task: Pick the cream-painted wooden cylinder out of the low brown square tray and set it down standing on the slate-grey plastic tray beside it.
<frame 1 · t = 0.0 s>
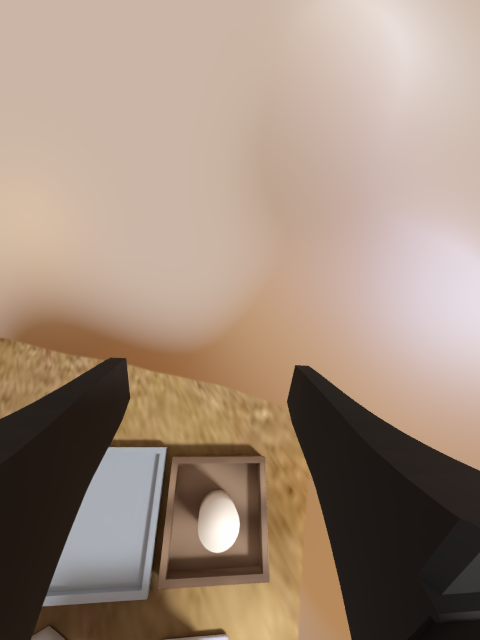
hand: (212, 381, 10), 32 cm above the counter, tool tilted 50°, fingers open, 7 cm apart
brown square tray: (216, 510, 34), on the counter
cream cylinder: (216, 510, 34), resting on brown square tray
slate tray: (99, 513, 32), on the counter
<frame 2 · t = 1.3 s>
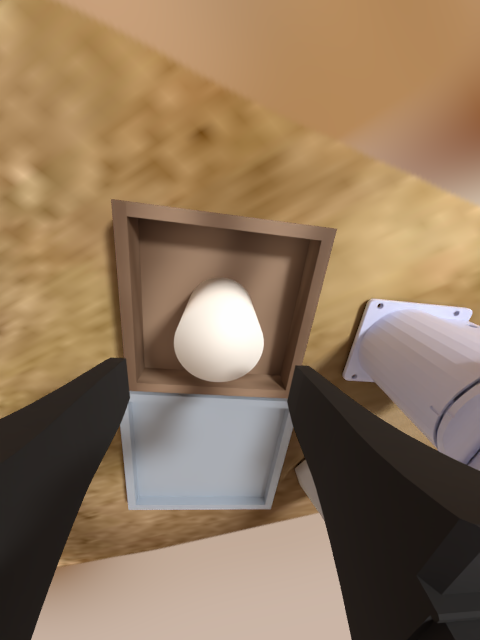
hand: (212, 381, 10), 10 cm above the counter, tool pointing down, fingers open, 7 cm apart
brown square tray: (220, 306, 19), on the counter
cream cylinder: (220, 308, 19), resting on brown square tray
slate tray: (207, 447, 25), on the counter
flask: (324, 466, 28), on the counter
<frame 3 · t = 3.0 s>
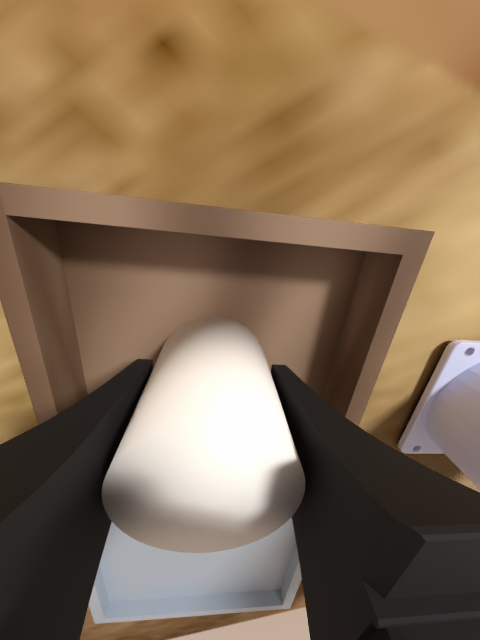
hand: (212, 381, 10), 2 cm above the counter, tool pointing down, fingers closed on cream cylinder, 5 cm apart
brown square tray: (213, 359, 12), on the counter
cream cylinder: (213, 364, 11), resting on brown square tray, touching gripper
slate tray: (201, 539, 18), on the counter
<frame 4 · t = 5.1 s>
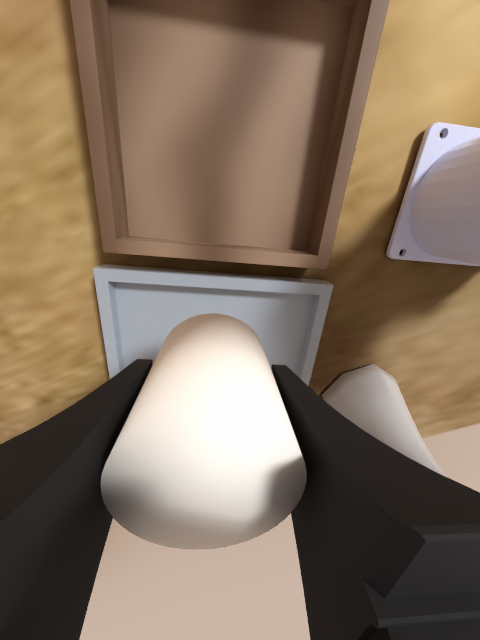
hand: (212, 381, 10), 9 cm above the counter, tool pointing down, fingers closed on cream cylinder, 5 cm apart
brown square tray: (227, 138, 14), on the counter
cream cylinder: (213, 361, 11), point 7 cm above the counter, touching gripper
slate tray: (214, 365, 20), on the counter
flask: (356, 394, 23), on the counter
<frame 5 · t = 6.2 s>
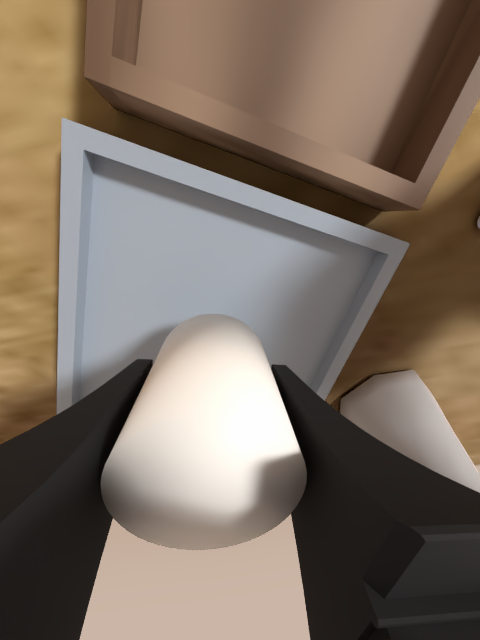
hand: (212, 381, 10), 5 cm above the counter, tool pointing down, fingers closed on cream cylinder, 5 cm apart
cream cylinder: (213, 362, 11), point 3 cm above the counter, touching gripper
slate tray: (215, 332, 15), on the counter
flask: (379, 405, 18), on the counter
when the fingers open (4 cm above the counter, at t = 7.2 s): cream cylinder drops 2 cm, resting on slate tray.
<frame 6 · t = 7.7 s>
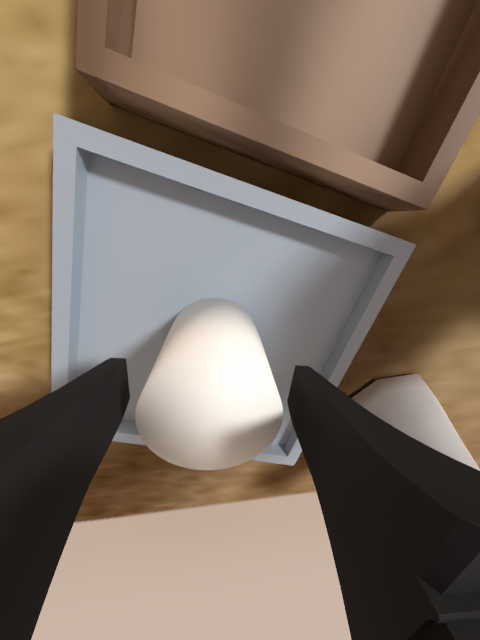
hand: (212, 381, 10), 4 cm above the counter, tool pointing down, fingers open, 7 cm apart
cream cylinder: (214, 339, 14), point 1 cm above the counter, touching slate tray
slate tray: (214, 336, 14), on the counter
flask: (382, 409, 18), on the counter
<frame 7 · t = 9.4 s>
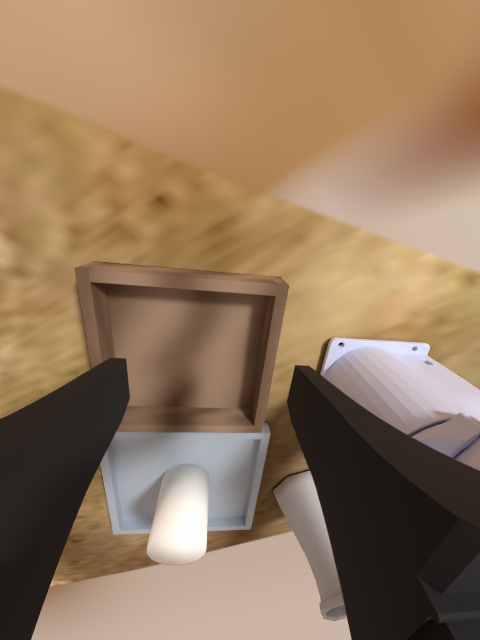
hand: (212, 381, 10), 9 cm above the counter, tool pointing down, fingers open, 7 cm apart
brown square tray: (189, 349, 20), on the counter
cream cylinder: (186, 479, 26), point 1 cm above the counter, touching slate tray
slate tray: (186, 474, 26), on the counter
flask: (301, 487, 29), on the counter
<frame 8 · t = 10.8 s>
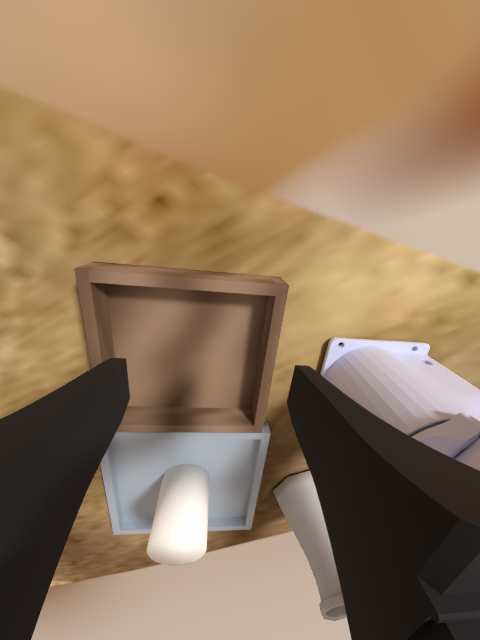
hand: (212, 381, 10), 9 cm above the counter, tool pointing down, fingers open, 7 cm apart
brown square tray: (189, 349, 20), on the counter
cream cylinder: (186, 479, 26), point 1 cm above the counter, touching slate tray
slate tray: (187, 474, 26), on the counter
flask: (301, 487, 29), on the counter
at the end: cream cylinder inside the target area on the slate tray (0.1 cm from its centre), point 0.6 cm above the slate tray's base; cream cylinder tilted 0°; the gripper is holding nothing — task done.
